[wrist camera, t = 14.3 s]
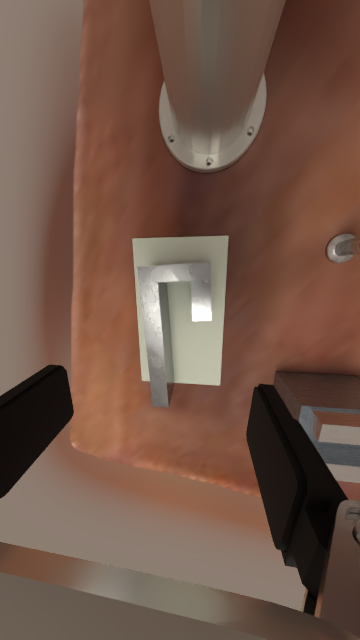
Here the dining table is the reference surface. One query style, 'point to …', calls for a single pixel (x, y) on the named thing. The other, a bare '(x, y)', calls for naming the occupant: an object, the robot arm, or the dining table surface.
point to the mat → (187, 306)
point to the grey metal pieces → (328, 398)
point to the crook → (168, 318)
